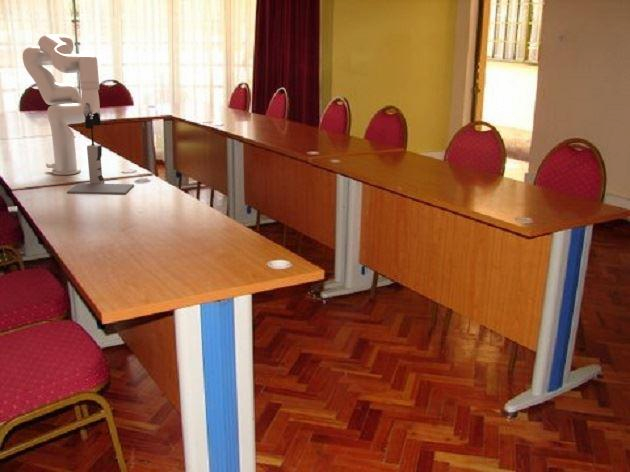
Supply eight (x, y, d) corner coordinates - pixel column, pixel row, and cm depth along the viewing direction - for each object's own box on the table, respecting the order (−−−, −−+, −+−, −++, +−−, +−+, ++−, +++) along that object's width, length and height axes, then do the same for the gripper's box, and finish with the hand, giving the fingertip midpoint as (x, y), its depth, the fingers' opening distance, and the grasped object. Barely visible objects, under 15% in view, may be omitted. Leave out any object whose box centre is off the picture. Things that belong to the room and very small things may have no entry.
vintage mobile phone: (100, 184, 292) (95, 127, 284) (89, 183, 293) (85, 126, 285) (104, 182, 295) (100, 125, 288) (94, 181, 296) (89, 125, 288)
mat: (67, 193, 277) (67, 191, 277) (78, 184, 290) (78, 183, 290) (125, 194, 277) (125, 192, 277) (133, 186, 291) (133, 184, 290)
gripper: (87, 84, 289) (90, 123, 294) (73, 87, 273) (77, 129, 278) (104, 84, 289) (108, 124, 294) (92, 88, 273) (96, 130, 278)
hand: (93, 126), depth 286 cm, fingers open, 9 cm apart
